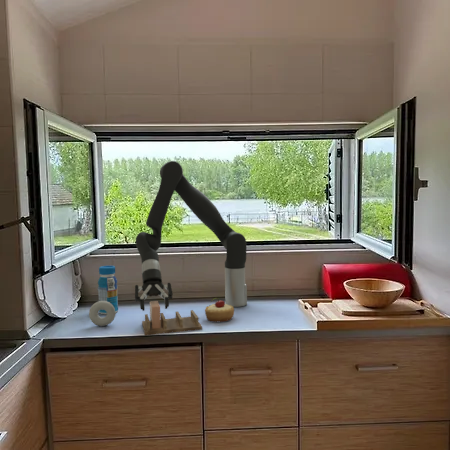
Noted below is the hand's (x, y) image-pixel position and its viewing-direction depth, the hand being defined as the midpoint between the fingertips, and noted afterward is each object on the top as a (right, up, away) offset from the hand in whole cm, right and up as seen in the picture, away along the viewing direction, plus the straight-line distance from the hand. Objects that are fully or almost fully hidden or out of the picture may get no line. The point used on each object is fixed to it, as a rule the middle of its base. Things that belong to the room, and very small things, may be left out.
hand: (155, 308), depth 155 cm
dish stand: (+6, -7, +2) cm, 10 cm away
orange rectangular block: (0, -6, +1) cm, 7 cm away
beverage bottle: (-24, -7, +25) cm, 35 cm away
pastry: (+24, -7, +11) cm, 27 cm away
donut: (-21, -8, +5) cm, 23 cm away
